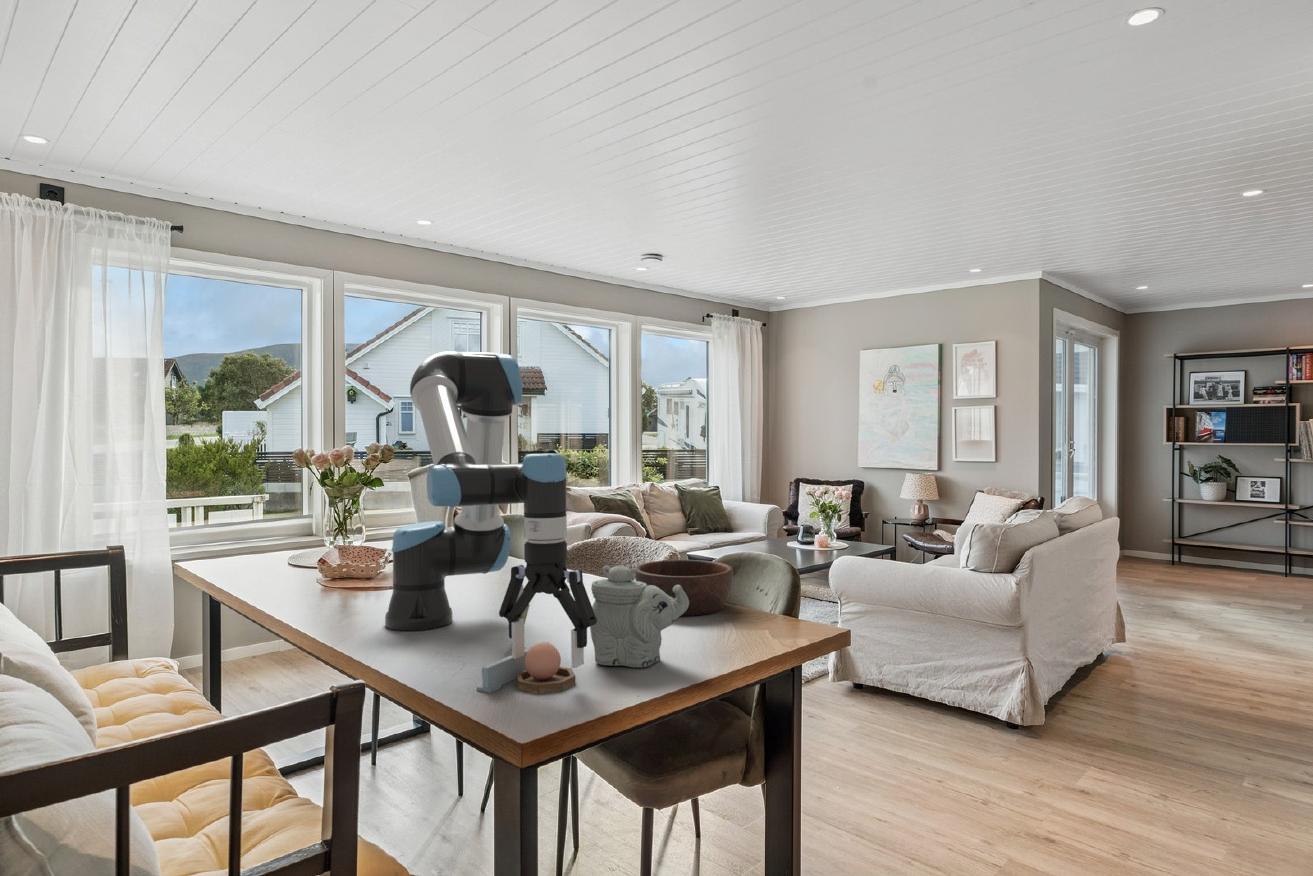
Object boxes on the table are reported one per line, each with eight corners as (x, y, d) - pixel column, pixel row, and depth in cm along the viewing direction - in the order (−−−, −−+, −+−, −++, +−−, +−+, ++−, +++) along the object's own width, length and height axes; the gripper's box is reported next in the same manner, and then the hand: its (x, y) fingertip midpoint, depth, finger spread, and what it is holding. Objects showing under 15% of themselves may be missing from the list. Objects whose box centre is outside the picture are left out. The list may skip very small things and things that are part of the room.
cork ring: (505, 687, 133) (505, 678, 133) (539, 671, 142) (539, 663, 142) (552, 696, 129) (552, 687, 129) (584, 679, 137) (584, 670, 137)
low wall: (476, 690, 132) (476, 667, 132) (541, 660, 148) (541, 640, 148) (490, 693, 130) (490, 669, 130) (554, 663, 147) (554, 642, 147)
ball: (520, 684, 134) (514, 647, 136) (542, 683, 139) (537, 648, 142) (548, 675, 131) (542, 638, 134) (570, 674, 137) (564, 638, 139)
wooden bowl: (614, 611, 190) (614, 570, 190) (670, 593, 211) (670, 556, 211) (700, 625, 176) (699, 580, 176) (750, 604, 197) (750, 565, 197)
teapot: (692, 666, 145) (691, 567, 145) (625, 681, 136) (625, 576, 136) (644, 646, 158) (643, 556, 158) (580, 659, 150) (580, 563, 150)
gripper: (478, 539, 137) (479, 658, 137) (592, 546, 126) (594, 676, 126) (504, 534, 144) (506, 648, 144) (615, 541, 133) (617, 664, 133)
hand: (547, 661), depth 135 cm, fingers open, 12 cm apart
